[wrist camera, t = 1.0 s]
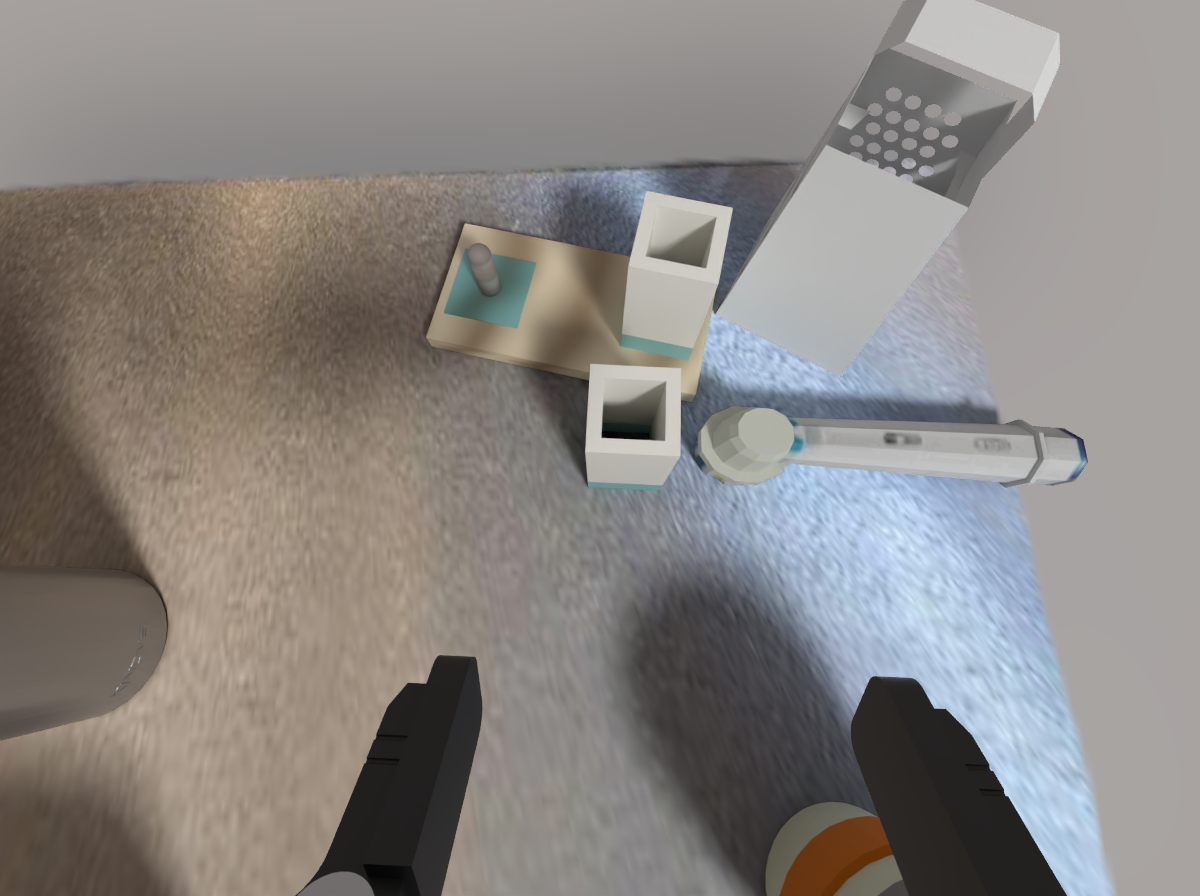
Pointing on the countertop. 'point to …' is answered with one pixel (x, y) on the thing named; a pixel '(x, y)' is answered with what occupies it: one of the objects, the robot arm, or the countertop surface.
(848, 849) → the reusable coffee cup
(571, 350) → the pin board
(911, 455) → the electric toothbrush
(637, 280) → the seated sleeve
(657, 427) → the sleeve
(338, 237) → the countertop surface
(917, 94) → the grater
